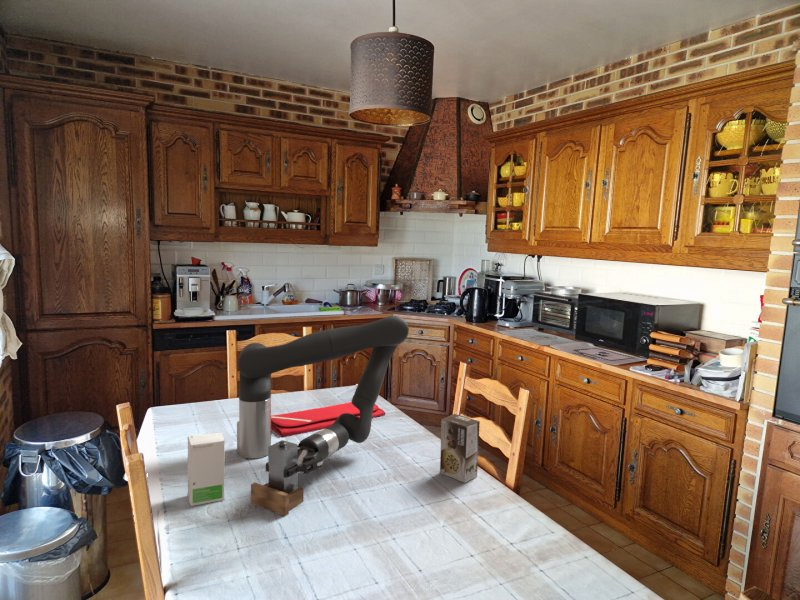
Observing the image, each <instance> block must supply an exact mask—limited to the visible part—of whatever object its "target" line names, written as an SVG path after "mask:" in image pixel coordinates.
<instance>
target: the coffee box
mask: <svg viewBox="0 0 800 600" xmlns="http://www.w3.org/2000/svg"><path fill="white" fill-rule="evenodd" d="M440 421H441V422H440V423H441V425H440V427H441V428H440V457H439V458H440V460H439V461H440V462H439V473H440V474H442V475H444V476H447V477H450V478H452V479H454V480H457V481H459V482H461V483H468V482H470V481H471V480H473V479H475V478H477V477H478V469H479V468H478V467H479V466H478V464H479V463H478V462H479V443H480V441H479V440H480V423H481V422H480V420H476V419H473V418H469V417H466V416H463V415H460V414H457V413H452V414H451V415H448V416H446V417H444V418H443V417H442V418H441V420H440Z"/></svg>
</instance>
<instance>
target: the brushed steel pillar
mask: <svg viewBox="0 0 800 600" xmlns="http://www.w3.org/2000/svg"><path fill="white" fill-rule="evenodd" d="M267 457H268V459H267V460H268V472H267V473H268V482H269V487H270V488H273V489H276V490H279V491H281V492H284V493H287V494H289V493H291V492H292V491H294V490H295V489H297V488H299V485H298V483H299V480H298V479H299V478H298V477H299V476H298V474H299V473H295V474H294V475H292V476H290V477H288V478H285V477H284V469H285V468H287V467H289V466H290V465H292V464H296V462H297V461H298V444H297V443H295V442H291V441H287V440H283V439H281V440H279V441H278V442H276V443H273V444H271V446H269V447H268V455H267Z"/></svg>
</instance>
